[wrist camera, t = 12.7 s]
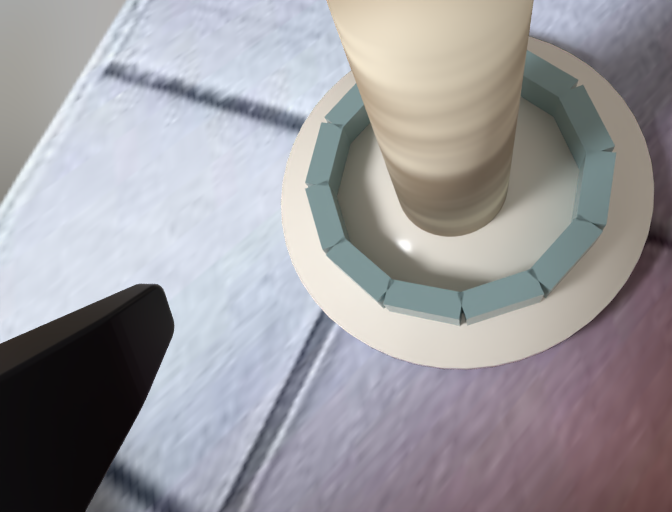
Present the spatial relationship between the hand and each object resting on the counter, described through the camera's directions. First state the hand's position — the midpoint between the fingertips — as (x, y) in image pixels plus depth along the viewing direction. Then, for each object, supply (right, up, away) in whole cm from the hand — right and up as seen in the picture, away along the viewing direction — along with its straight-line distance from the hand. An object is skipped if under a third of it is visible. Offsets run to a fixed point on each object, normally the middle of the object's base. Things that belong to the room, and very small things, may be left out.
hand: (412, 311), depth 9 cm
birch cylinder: (+4, +4, +14) cm, 15 cm away
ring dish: (+4, +4, +15) cm, 16 cm away
